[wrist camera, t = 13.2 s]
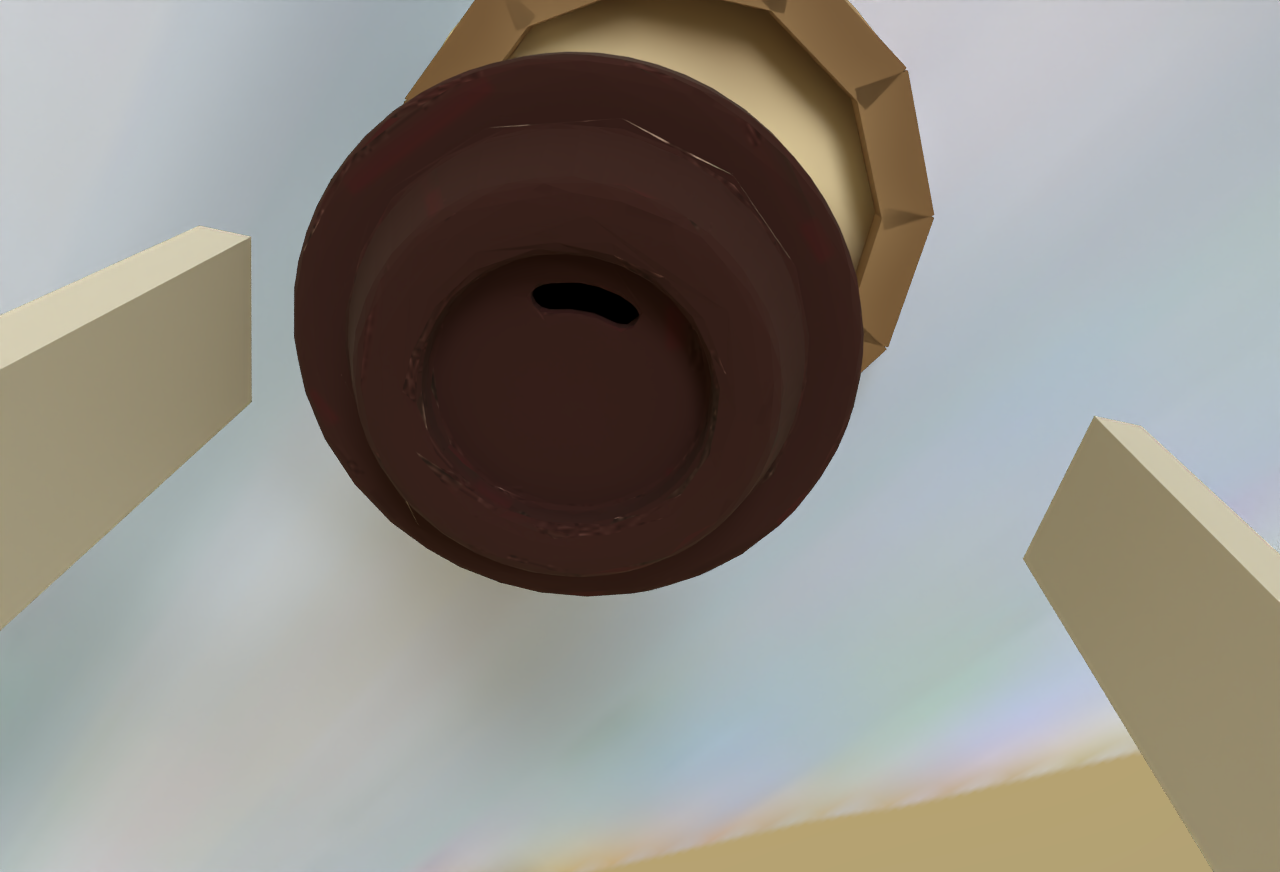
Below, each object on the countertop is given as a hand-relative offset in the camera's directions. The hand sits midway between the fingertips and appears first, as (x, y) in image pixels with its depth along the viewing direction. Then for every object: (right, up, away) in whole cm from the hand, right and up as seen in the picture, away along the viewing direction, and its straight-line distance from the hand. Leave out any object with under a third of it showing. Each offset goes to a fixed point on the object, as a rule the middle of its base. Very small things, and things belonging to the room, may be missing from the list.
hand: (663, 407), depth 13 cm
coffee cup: (-1, +7, +14) cm, 15 cm away
